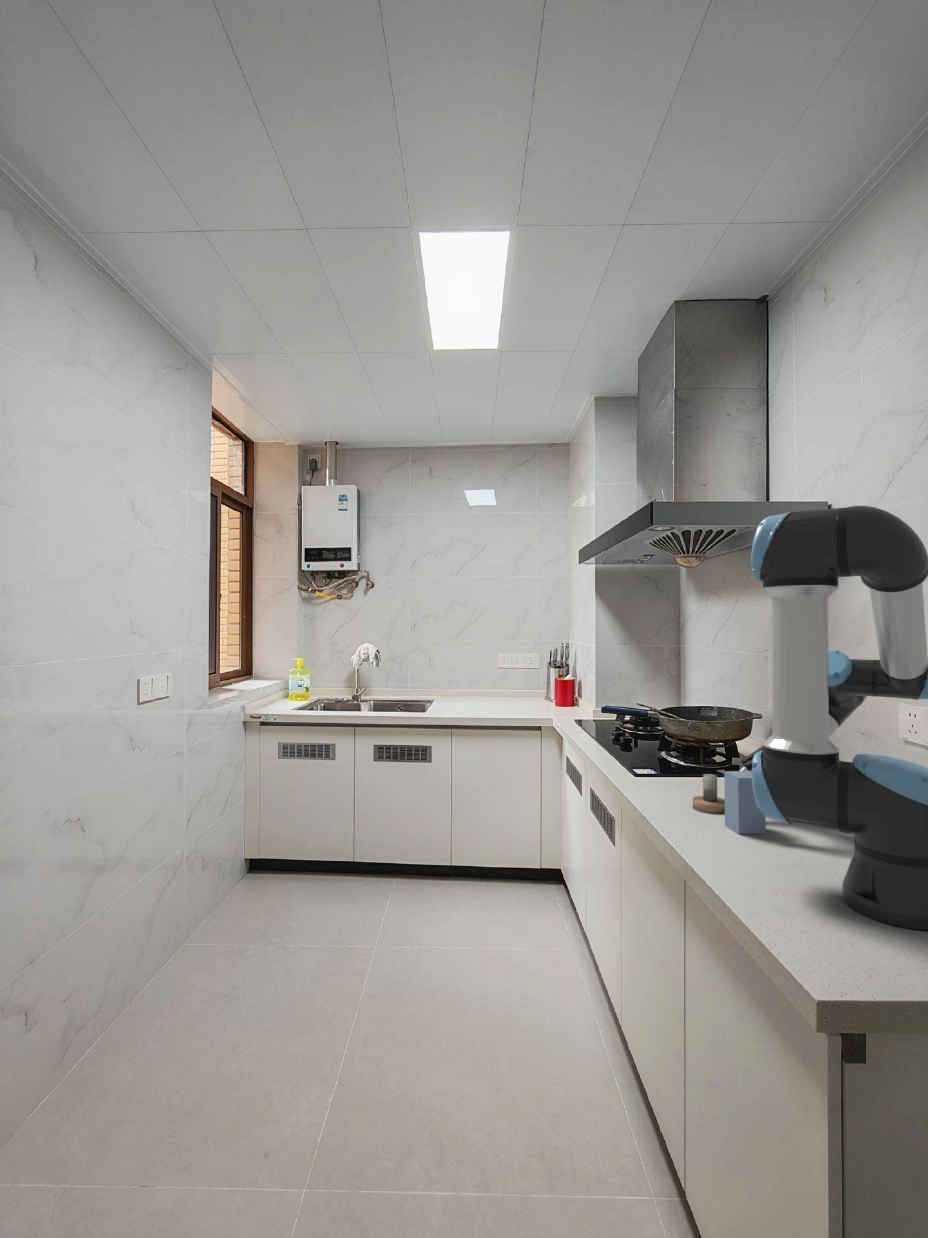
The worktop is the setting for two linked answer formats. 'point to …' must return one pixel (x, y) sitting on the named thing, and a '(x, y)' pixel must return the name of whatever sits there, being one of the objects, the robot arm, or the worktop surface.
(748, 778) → the upright blue pillar
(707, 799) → the post stand
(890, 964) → the worktop surface
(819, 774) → the robot arm
